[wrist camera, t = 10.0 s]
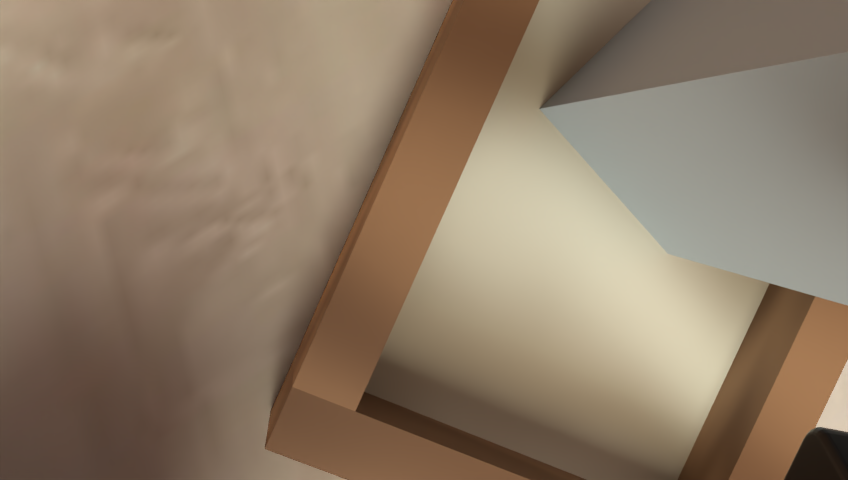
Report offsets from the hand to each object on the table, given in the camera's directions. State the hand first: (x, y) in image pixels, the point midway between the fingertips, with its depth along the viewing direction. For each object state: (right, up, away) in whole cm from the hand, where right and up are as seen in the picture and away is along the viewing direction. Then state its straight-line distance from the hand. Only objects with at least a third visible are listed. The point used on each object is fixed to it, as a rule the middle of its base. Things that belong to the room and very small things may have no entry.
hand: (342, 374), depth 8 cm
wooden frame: (+6, +3, +12) cm, 14 cm away
